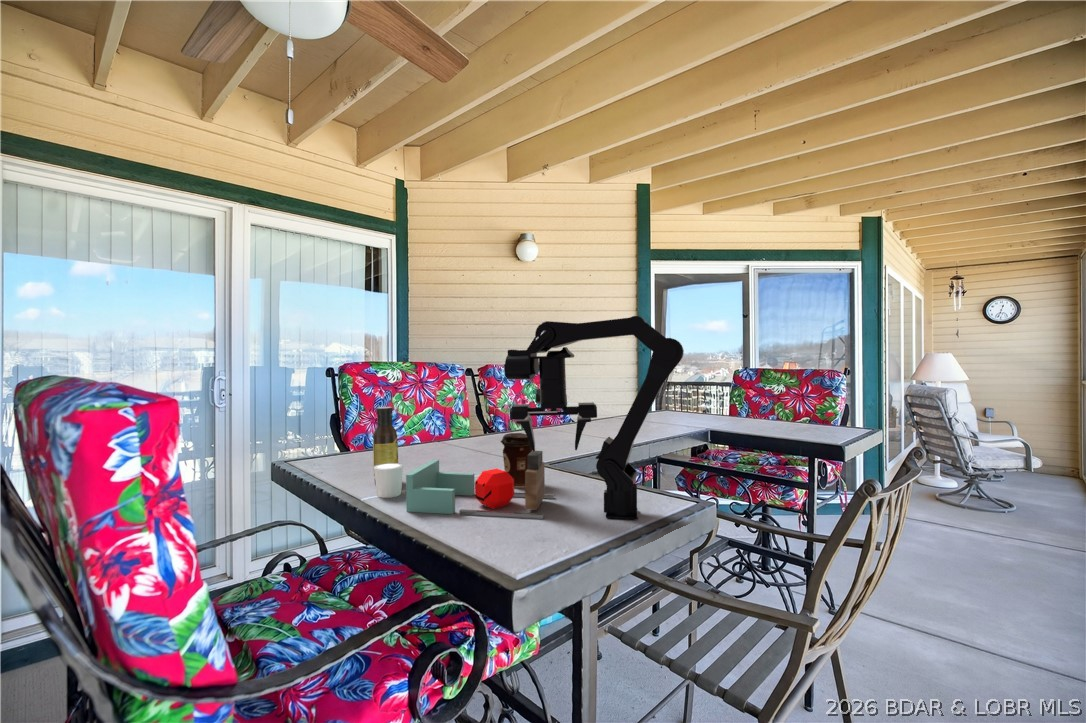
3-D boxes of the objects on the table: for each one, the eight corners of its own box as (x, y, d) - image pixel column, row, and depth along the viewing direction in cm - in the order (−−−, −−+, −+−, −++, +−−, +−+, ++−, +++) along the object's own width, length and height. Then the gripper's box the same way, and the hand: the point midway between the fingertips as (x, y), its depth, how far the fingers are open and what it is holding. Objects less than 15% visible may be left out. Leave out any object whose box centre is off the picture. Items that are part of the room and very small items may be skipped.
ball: (470, 504, 113) (469, 471, 112) (498, 497, 118) (498, 465, 118) (490, 513, 107) (490, 477, 106) (519, 505, 112) (519, 471, 112)
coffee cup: (498, 489, 125) (498, 437, 124) (502, 480, 133) (502, 432, 133) (533, 489, 124) (533, 437, 124) (535, 480, 133) (535, 432, 132)
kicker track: (554, 497, 117) (554, 494, 117) (542, 519, 103) (542, 515, 103) (480, 494, 121) (480, 490, 121) (459, 514, 106) (459, 510, 106)
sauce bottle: (402, 482, 132) (401, 407, 131) (380, 487, 128) (379, 409, 127) (391, 477, 137) (390, 405, 136) (369, 482, 132) (368, 407, 132)
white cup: (400, 488, 126) (400, 461, 126) (406, 495, 120) (406, 466, 120) (371, 492, 123) (371, 464, 122) (377, 500, 116) (376, 470, 116)
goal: (474, 493, 121) (474, 461, 121) (452, 514, 106) (452, 476, 106) (433, 491, 123) (433, 459, 123) (406, 511, 108) (406, 474, 108)
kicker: (544, 496, 115) (544, 448, 115) (536, 509, 105) (536, 458, 105) (534, 495, 116) (534, 448, 115) (525, 509, 106) (525, 457, 106)
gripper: (594, 376, 116) (596, 442, 117) (514, 378, 118) (517, 444, 118) (596, 378, 105) (598, 452, 106) (508, 381, 107) (510, 454, 107)
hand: (554, 450), depth 109 cm, fingers open, 9 cm apart
